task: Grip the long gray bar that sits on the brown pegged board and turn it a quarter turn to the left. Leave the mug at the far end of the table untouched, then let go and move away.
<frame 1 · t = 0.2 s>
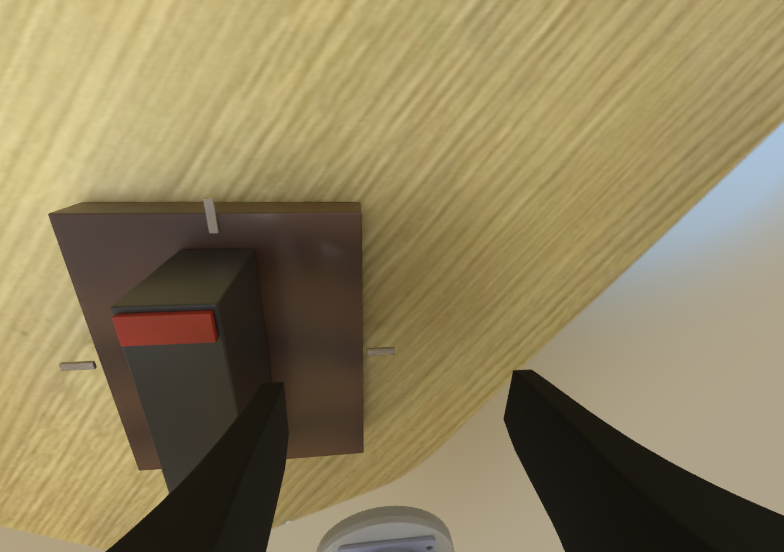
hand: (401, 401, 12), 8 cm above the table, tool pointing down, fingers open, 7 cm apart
gray bar: (219, 396, 15), point 5 cm above the table, hinge at 0.0°
brown pegged board: (246, 334, 19), on the table
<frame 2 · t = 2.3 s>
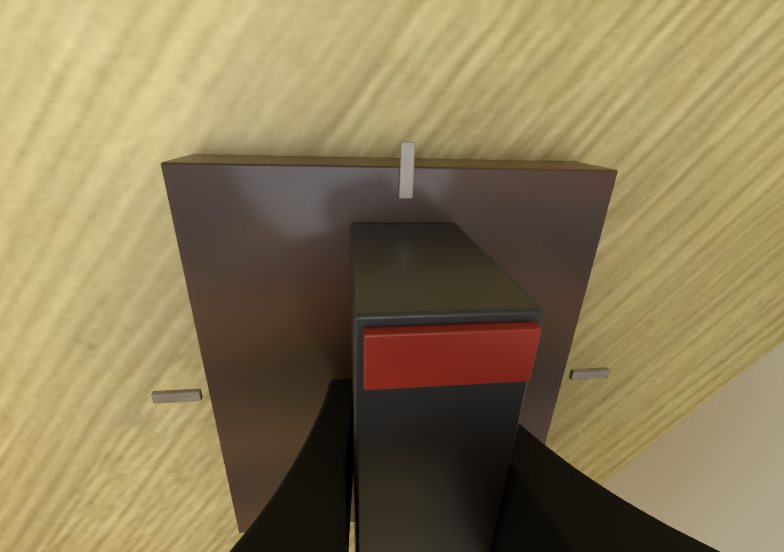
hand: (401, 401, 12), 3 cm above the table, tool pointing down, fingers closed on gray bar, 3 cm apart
gray bar: (409, 448, 10), point 5 cm above the table, hinge at -0.1°, touching gripper
brown pegged board: (390, 348, 14), on the table
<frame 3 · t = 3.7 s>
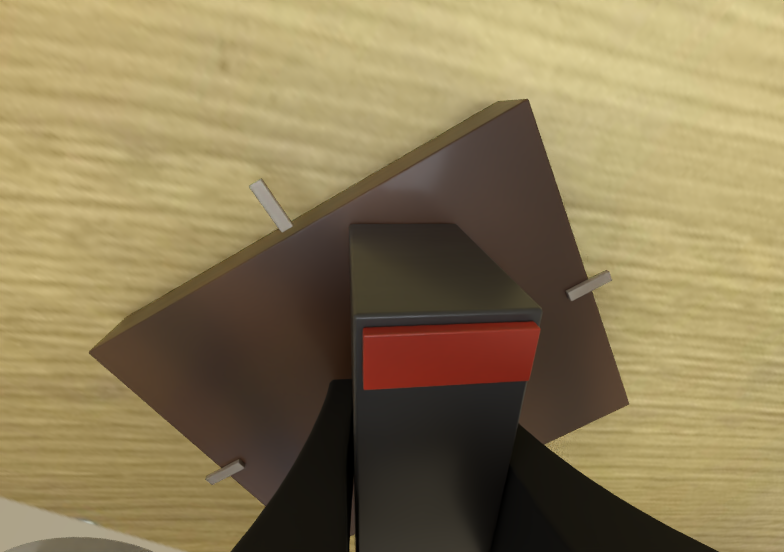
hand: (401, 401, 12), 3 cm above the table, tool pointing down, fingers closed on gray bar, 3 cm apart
gray bar: (409, 448, 10), point 5 cm above the table, hinge at 59.9°, touching gripper
brown pegged board: (390, 347, 14), on the table
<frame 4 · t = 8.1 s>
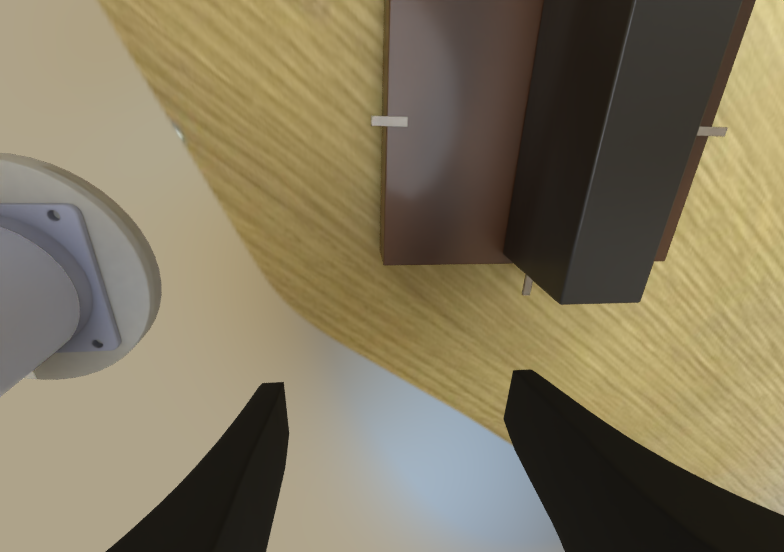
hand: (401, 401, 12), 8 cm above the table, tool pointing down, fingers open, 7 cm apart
gray bar: (598, 128, 13), point 5 cm above the table, hinge at 89.8°
brown pegged board: (534, 125, 17), on the table
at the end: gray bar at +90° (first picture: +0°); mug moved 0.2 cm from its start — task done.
